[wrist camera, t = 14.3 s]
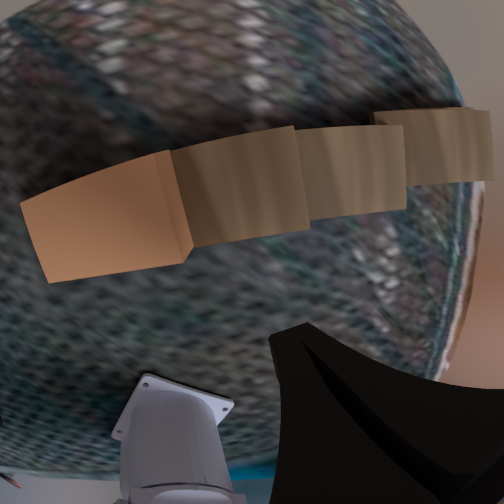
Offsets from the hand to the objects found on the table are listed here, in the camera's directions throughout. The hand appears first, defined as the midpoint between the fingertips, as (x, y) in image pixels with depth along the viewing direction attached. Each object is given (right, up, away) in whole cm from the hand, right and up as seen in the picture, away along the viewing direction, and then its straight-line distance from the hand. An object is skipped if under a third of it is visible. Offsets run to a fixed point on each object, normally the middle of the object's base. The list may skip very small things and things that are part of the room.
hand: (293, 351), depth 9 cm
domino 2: (-8, +6, +6) cm, 11 cm away
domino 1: (-14, +4, +5) cm, 15 cm away
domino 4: (+7, +10, +9) cm, 15 cm away
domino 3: (-1, +7, +7) cm, 10 cm away
